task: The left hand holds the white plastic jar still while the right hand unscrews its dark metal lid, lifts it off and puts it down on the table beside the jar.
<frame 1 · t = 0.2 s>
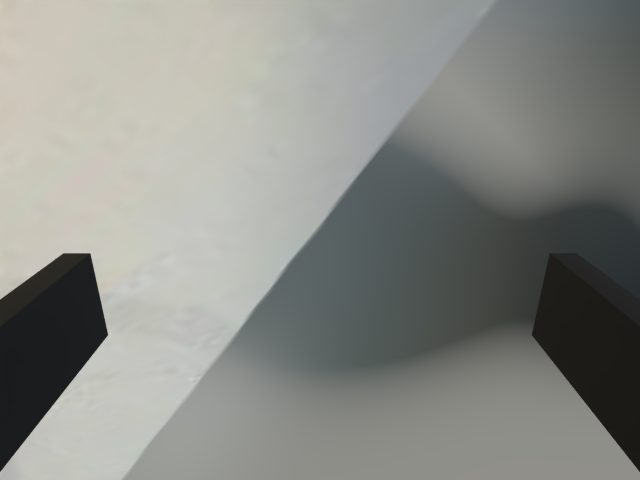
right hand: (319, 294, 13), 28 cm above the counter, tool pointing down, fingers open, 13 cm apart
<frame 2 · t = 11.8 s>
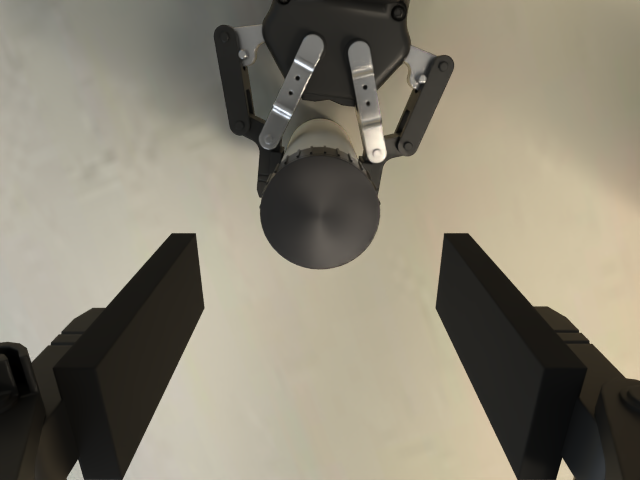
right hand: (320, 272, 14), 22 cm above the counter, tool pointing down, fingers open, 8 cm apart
left hand: (314, 208, 29), fingers closed on jar, 5 cm apart
jar: (320, 151, 34), on the counter, touching left hand
lid: (320, 213, 20), point 15 cm above the counter, screwed on, not yet turned
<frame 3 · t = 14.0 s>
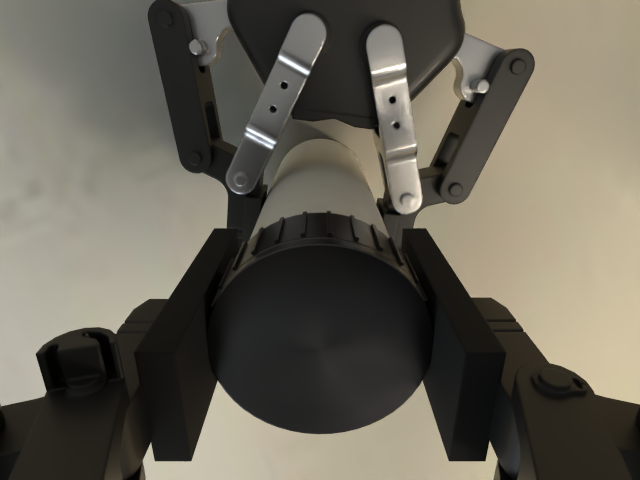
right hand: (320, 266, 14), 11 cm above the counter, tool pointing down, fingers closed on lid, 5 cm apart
left hand: (312, 274, 20), fingers closed on jar, 5 cm apart
jar: (320, 182, 25), on the counter, touching left hand
lid: (320, 340, 11), point 15 cm above the counter, screwed on, not yet turned, touching right hand
when the right hand's fingers open (12 cm above the counter, at t = 15.5 s): lid stays where it is, point 16 cm above the counter.
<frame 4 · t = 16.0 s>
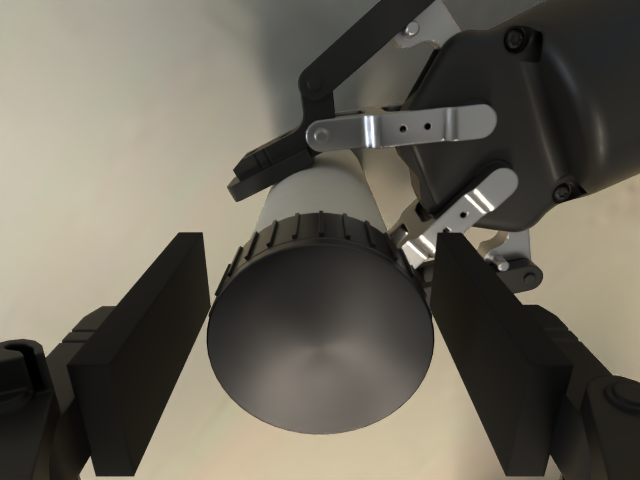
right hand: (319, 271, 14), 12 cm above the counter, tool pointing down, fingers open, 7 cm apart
left hand: (268, 242, 19), fingers closed on jar, 5 cm apart
jar: (320, 180, 25), on the counter, touching left hand
lid: (320, 340, 11), point 16 cm above the counter, turned 99° so far, risen 0.3 cm, still on its thread
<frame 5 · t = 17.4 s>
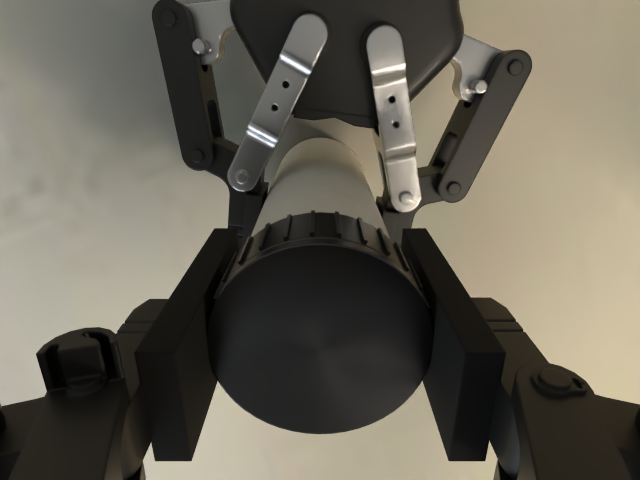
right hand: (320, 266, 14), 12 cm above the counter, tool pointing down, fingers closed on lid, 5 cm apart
left hand: (311, 271, 20), fingers closed on jar, 5 cm apart
jar: (320, 180, 25), on the counter, touching left hand
lid: (320, 339, 11), point 16 cm above the counter, turned 99° so far, risen 0.3 cm, still on its thread, touching right hand
when the right hand's fingers open (0 cm above the counter, at t = 23.7 s): lid drops 2 cm, point 2 cm above the counter.
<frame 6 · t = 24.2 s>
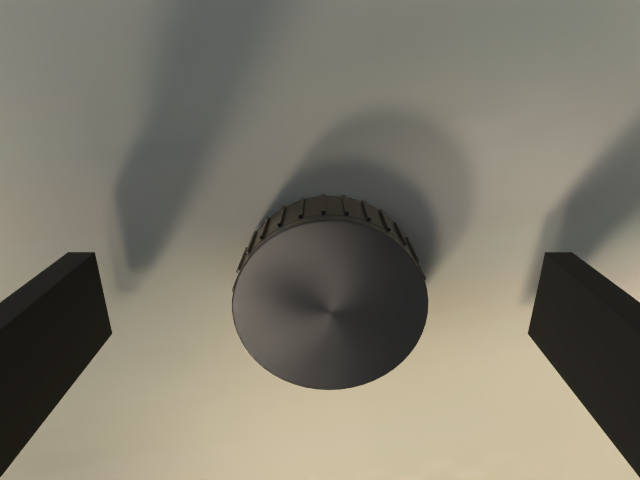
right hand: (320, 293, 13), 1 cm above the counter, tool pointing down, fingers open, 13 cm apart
lid: (329, 305, 12), point 2 cm above the counter, off its thread
when the left hand's fingers open (7 cm above the counter, at t = 24.9 s): jar stays where it is, on the counter.
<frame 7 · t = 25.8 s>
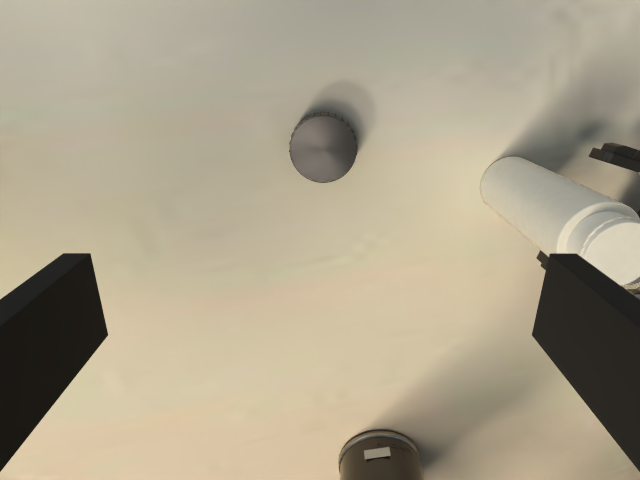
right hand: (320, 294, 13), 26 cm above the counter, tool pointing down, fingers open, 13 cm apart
jar: (508, 184, 38), on the counter
lid: (323, 149, 35), point 2 cm above the counter, off its thread
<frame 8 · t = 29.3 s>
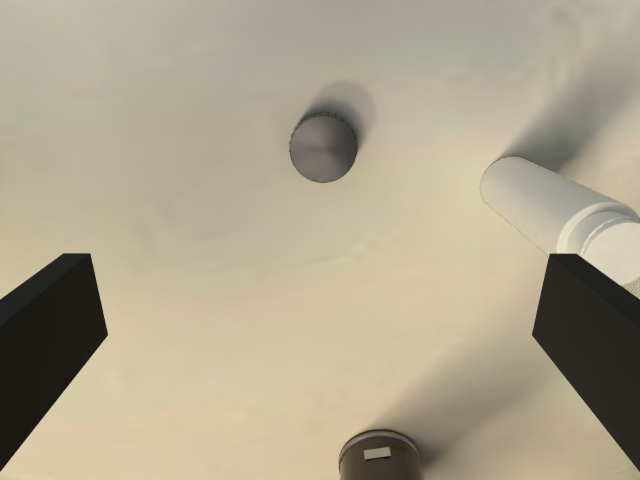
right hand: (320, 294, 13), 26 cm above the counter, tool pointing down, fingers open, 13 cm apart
jar: (508, 184, 38), on the counter
lid: (323, 149, 35), point 2 cm above the counter, off its thread
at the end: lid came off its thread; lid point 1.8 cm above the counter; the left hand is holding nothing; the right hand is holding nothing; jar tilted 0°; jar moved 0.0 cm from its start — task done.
